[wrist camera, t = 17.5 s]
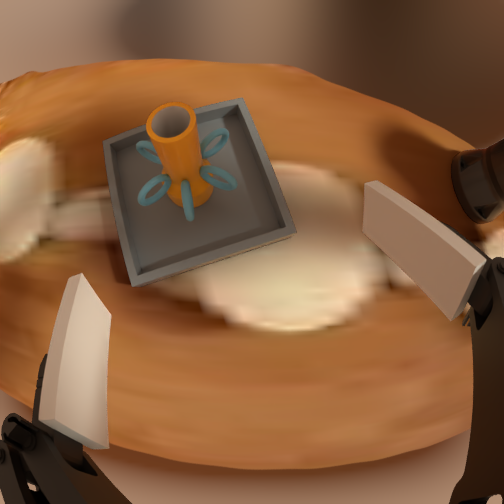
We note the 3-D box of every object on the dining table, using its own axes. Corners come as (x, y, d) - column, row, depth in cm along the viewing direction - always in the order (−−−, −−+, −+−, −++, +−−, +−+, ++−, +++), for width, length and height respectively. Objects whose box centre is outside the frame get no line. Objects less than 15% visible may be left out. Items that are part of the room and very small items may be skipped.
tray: (241, 111, 37) (242, 97, 33) (289, 237, 35) (296, 232, 32) (111, 152, 34) (102, 141, 31) (140, 286, 33) (132, 286, 29)
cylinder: (239, 226, 34) (251, 180, 19) (156, 240, 32) (108, 206, 18) (224, 140, 35) (227, 62, 20) (149, 153, 34) (114, 83, 19)
